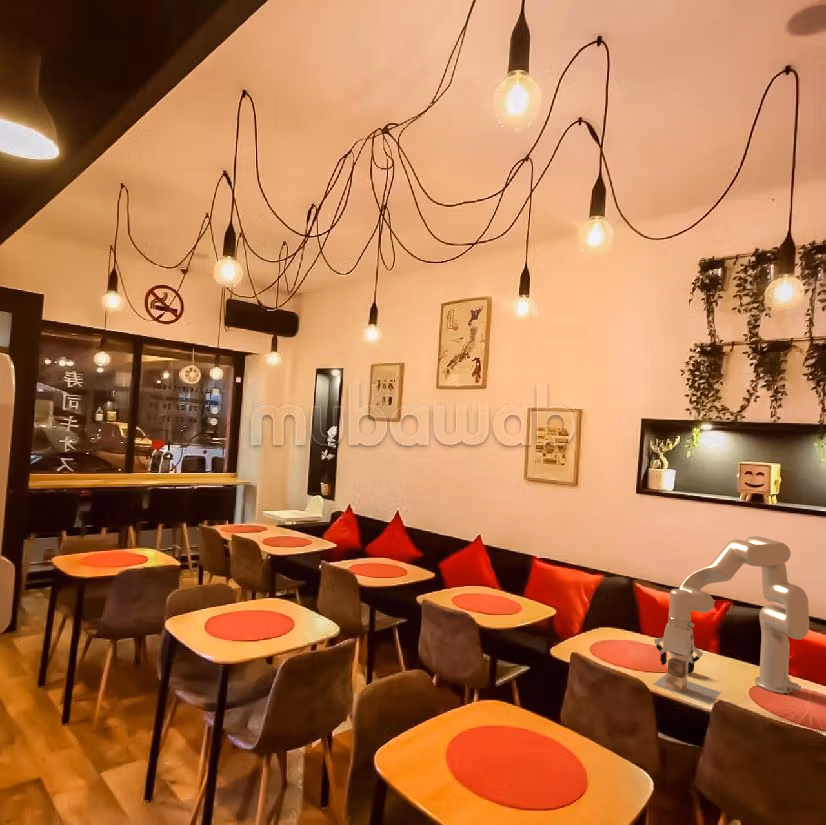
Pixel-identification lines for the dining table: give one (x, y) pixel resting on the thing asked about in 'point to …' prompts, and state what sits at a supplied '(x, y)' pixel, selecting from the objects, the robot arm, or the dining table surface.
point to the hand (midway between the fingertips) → (676, 668)
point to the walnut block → (676, 667)
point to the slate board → (693, 691)
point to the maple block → (675, 682)
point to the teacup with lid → (677, 656)
